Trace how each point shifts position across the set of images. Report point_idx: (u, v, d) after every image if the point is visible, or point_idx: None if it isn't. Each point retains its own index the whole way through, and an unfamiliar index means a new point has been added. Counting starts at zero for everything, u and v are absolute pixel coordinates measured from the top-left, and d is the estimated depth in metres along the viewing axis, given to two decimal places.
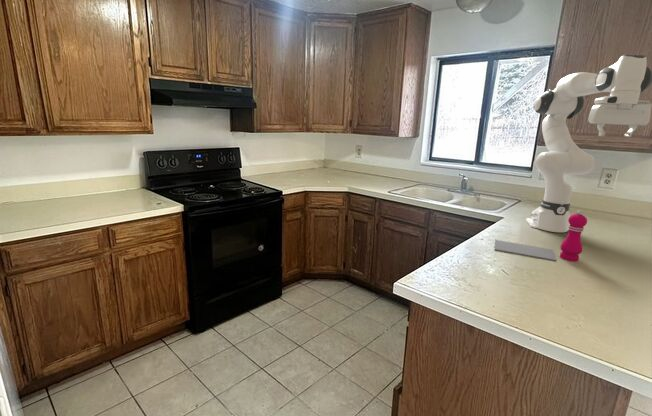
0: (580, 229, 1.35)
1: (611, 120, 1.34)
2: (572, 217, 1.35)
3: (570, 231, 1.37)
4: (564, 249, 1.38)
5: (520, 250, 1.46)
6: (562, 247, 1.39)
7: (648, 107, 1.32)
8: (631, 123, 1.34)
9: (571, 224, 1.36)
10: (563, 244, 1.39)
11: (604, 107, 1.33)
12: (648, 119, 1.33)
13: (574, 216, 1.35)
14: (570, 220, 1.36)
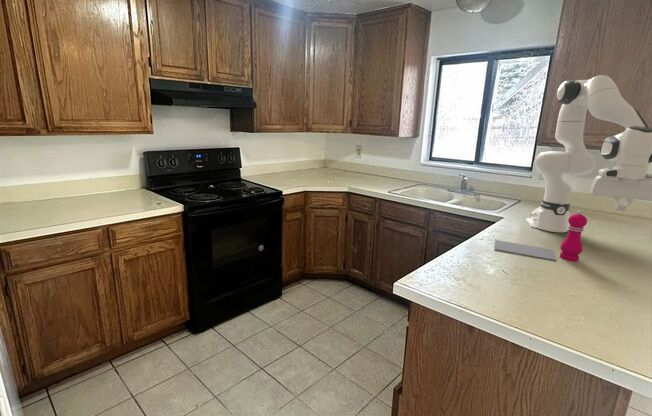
0: (580, 229, 1.35)
1: (614, 193, 1.28)
2: (572, 217, 1.35)
3: (570, 231, 1.37)
4: (564, 249, 1.38)
5: (520, 250, 1.46)
6: (562, 247, 1.39)
7: None
8: (638, 198, 1.25)
9: (571, 224, 1.36)
10: (563, 244, 1.39)
11: (604, 180, 1.28)
12: None
13: (574, 216, 1.35)
14: (570, 220, 1.36)
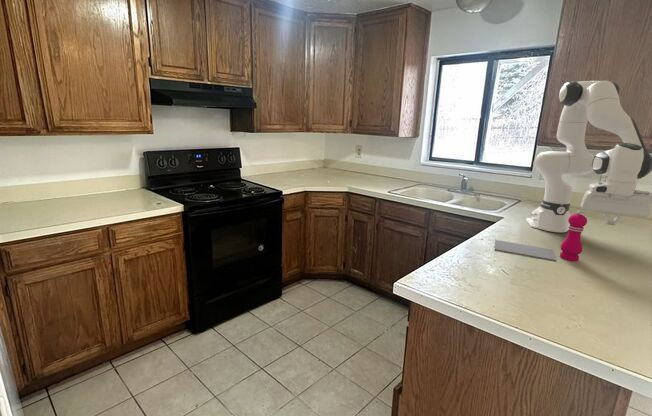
0: (580, 229, 1.35)
1: (603, 208, 1.30)
2: (572, 217, 1.35)
3: (570, 231, 1.37)
4: (564, 249, 1.38)
5: (520, 250, 1.46)
6: (562, 247, 1.39)
7: (647, 199, 1.24)
8: (627, 214, 1.27)
9: (571, 224, 1.36)
10: (563, 244, 1.39)
11: (593, 195, 1.30)
12: (648, 211, 1.25)
13: (574, 216, 1.35)
14: (570, 220, 1.36)
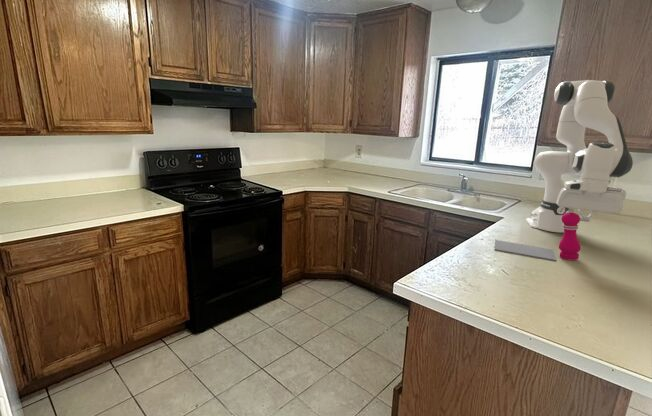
0: (574, 227, 1.35)
1: (577, 205, 1.34)
2: (564, 216, 1.36)
3: (565, 230, 1.38)
4: (562, 249, 1.38)
5: (520, 250, 1.46)
6: (560, 247, 1.39)
7: (619, 196, 1.27)
8: (600, 210, 1.31)
9: (565, 223, 1.37)
10: (560, 244, 1.39)
11: (568, 192, 1.34)
12: (620, 208, 1.28)
13: (566, 215, 1.36)
14: (563, 219, 1.37)
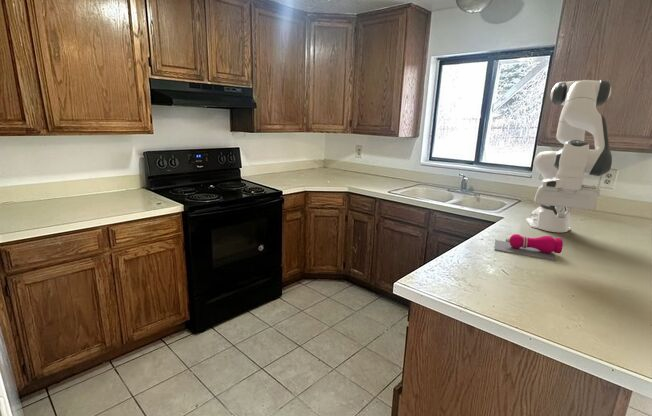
0: (525, 239, 1.44)
1: (554, 202, 1.37)
2: (512, 246, 1.46)
3: (528, 246, 1.45)
4: (549, 251, 1.41)
5: (520, 250, 1.46)
6: (547, 252, 1.42)
7: (594, 193, 1.31)
8: (576, 207, 1.34)
9: (520, 246, 1.45)
10: (544, 251, 1.42)
11: (545, 190, 1.37)
12: (594, 205, 1.31)
13: (511, 244, 1.47)
14: (516, 247, 1.46)
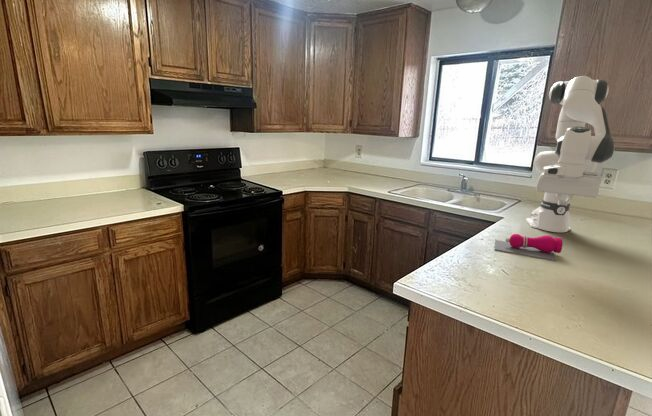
0: (524, 238, 1.45)
1: (555, 190, 1.36)
2: (513, 245, 1.46)
3: (528, 246, 1.45)
4: (549, 250, 1.41)
5: (520, 250, 1.46)
6: (547, 251, 1.42)
7: (595, 180, 1.29)
8: (577, 194, 1.33)
9: (520, 245, 1.45)
10: (544, 250, 1.42)
11: (546, 177, 1.36)
12: (596, 192, 1.30)
13: (511, 243, 1.47)
14: (516, 246, 1.46)
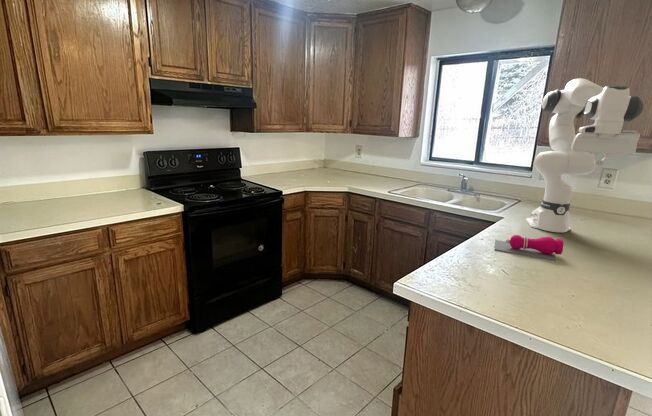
0: (525, 242, 1.43)
1: (592, 149, 1.38)
2: (512, 247, 1.46)
3: None
4: (549, 253, 1.41)
5: (520, 250, 1.46)
6: None
7: (633, 137, 1.31)
8: (614, 152, 1.35)
9: None
10: None
11: (583, 136, 1.38)
12: (634, 149, 1.32)
13: (511, 246, 1.46)
14: None
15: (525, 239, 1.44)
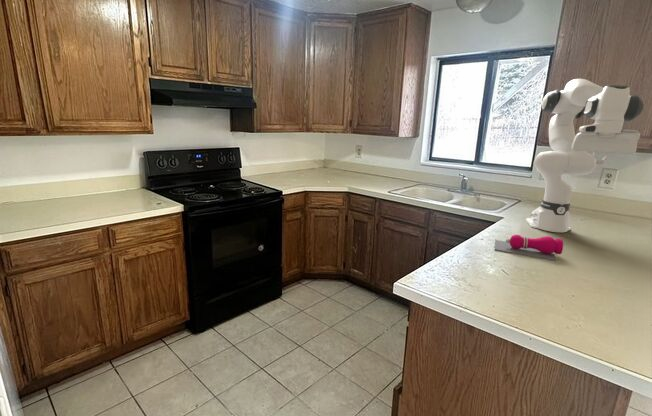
0: (525, 241, 1.43)
1: (592, 148, 1.38)
2: (512, 247, 1.46)
3: (528, 247, 1.44)
4: (549, 253, 1.41)
5: (520, 250, 1.46)
6: (547, 253, 1.42)
7: (634, 136, 1.31)
8: (615, 152, 1.35)
9: (520, 247, 1.45)
10: (543, 252, 1.42)
11: (583, 135, 1.38)
12: (634, 148, 1.32)
13: (511, 245, 1.46)
14: (516, 248, 1.46)
15: (525, 238, 1.44)
